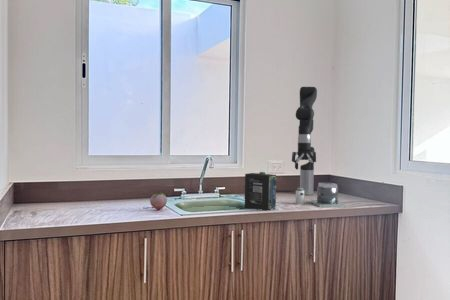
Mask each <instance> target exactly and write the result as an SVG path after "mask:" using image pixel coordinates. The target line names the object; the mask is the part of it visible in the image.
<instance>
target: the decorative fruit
mask: <svg viewBox="0 0 450 300" xmlns="http://www.w3.org/2000/svg"><path fill="white" fill-rule="evenodd" d="M149 203H150V205H151V207H152V208H154V209H155V210H158V211H161V210H162V209H163V208H165V207H166V205H167V203H168V198H167V196H166V194H165V193H163V192H160V191H158V192H157V193H154V194H153V195H152V196H151V197H150V200H149Z"/></svg>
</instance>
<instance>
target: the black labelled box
mask: <svg viewBox="0 0 450 300" xmlns="http://www.w3.org/2000/svg"><path fill="white" fill-rule="evenodd" d="M244 174H245V175H244V185H243V188H242V189H243V190H244V197H243V198H242V199H244V208H247V209H253V210H259V209H262V210H261V211H266V210H269V211H272V210H271V209H273V210H275V209H276V208H277V205H276V203H277V197H276V193H277V190H276V189H277V179H278V178H277V175H276V174H272V173H270V174H269V173H266V172H265V171H259V173H258V172H257V173H256V172H249V173H244Z"/></svg>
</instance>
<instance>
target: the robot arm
mask: <svg viewBox="0 0 450 300" xmlns="http://www.w3.org/2000/svg"><path fill="white" fill-rule="evenodd" d="M317 95H318V90H317V88H316V87H315V86H301V87H300V88H299V107H298V108H297V109H296V110H295V118H296V119H297V120H298V121H299V124H298V125H299V126H298V136H297V151H292V154H291V162H292V163H294V168H295V170H299V171H300V172H299V175H300V176H299V178H300V179H299V188H303V190H304V196H312V195H314V182H315V179H314V177H315V176H314V174H315V173H314V172H315V168H314V166H315V163H316V162H317V152H316V151H315V148H314V147H313V146H312V136H311V135H312V132H313V131H314V117H315V110H314V109H313V106H314V103H315V102H316V101H317ZM296 156H297V157H296ZM300 161H308V162H306V163H304V164H301V165H300V169H299V162H300Z"/></svg>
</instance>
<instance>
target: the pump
mask: <svg viewBox="0 0 450 300" xmlns="http://www.w3.org/2000/svg"><path fill="white" fill-rule="evenodd" d="M296 189H297V190H295V204H296V205H298V204H304V205H305V195H304V190H303V188H300V187H297V188H296Z"/></svg>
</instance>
